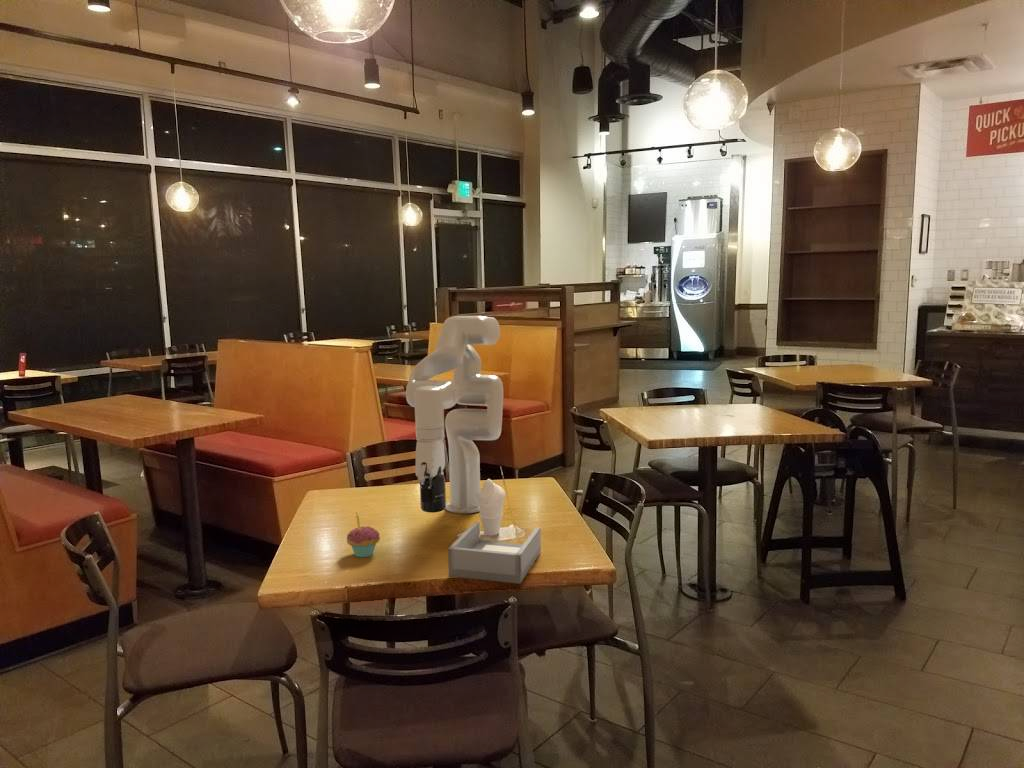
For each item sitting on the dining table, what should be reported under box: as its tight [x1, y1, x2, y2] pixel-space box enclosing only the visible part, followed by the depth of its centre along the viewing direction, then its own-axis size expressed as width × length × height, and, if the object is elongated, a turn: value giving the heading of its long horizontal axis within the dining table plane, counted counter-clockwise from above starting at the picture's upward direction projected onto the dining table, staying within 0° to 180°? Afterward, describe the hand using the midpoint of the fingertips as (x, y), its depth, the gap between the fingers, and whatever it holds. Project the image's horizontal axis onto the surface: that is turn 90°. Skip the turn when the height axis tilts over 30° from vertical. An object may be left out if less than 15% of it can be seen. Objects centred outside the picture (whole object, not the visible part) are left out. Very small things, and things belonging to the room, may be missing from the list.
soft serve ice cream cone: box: [476, 478, 506, 537], centre depth 203 cm, size 8×8×16 cm
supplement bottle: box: [419, 466, 447, 514], centre depth 193 cm, size 7×7×12 cm
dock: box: [447, 521, 542, 585], centre depth 181 cm, size 20×18×7 cm
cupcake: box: [346, 512, 381, 558], centre depth 189 cm, size 9×8×12 cm
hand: (433, 496), depth 193 cm, fingers closed on supplement bottle, 6 cm apart
